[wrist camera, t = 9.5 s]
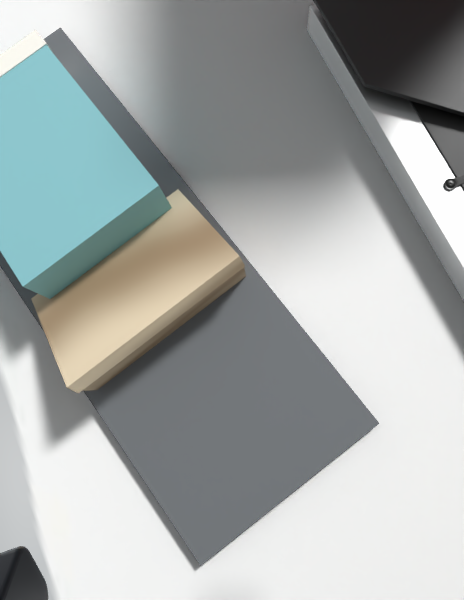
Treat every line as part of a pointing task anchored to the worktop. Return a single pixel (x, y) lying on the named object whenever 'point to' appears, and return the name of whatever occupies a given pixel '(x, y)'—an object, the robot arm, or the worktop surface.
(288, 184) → the worktop surface
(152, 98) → the worktop surface
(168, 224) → the ramp
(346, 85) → the picture frame
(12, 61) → the card deck
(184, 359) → the mat
